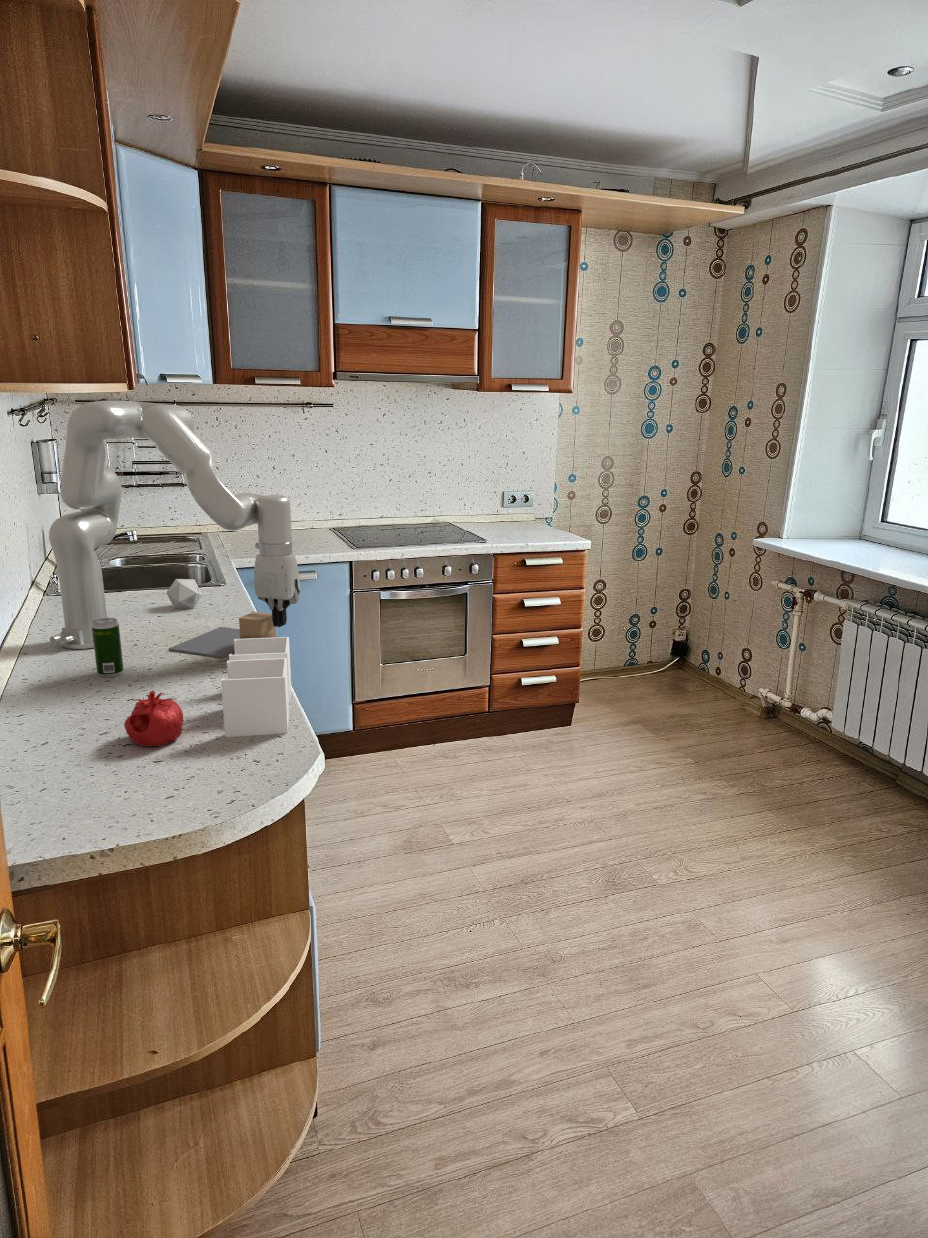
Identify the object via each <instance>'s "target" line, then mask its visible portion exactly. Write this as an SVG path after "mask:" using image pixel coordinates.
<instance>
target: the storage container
mask: <svg viewBox="0 0 928 1238" xmlns="http://www.w3.org/2000/svg"><path fill="white" fill-rule="evenodd" d="M290 650H291V649H290V637H289V636H282V637H277V636H276V637H275V638H250V639H234V651H235V652H234V654H233V653H231V654H228V660H227V661H226V668H227V670H226V671H227V673H226V674H227V679H226V678H224V677H222V678H221V680H220V682H221V685H220V686H221V698H222V711H223V726H224V737H225V738H231V737H232V738H234V737H249V736H261V735H262V736H265V735H266V736H267V735H268V736H269V735H281V734H288V732H289V723H290V721H289V720H290V705H291V696H292V695H291V694H292V676H291V675H292V674H291V672H292V671H291V652H290Z"/></svg>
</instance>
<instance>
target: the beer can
mask: <svg viewBox="0 0 928 1238" xmlns="http://www.w3.org/2000/svg"><path fill="white" fill-rule="evenodd" d="M92 624H93V625H92V634H93V643H94V648H93V650H94V656H95V658H94V659H95V667H96V668H95V669H96V673H97V674H98V676H99V677H101V678H114V677H117V676H120V675H122V674H123V672H124V660H123V659H124V658H123V652H122V642H121V634H120V632H121V631H120V624H119V622H118V618H114V617H107V618H101V619H96V620H94V621H93V622H92Z"/></svg>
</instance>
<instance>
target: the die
mask: <svg viewBox="0 0 928 1238" xmlns="http://www.w3.org/2000/svg"><path fill="white" fill-rule="evenodd" d="M165 593H166V595H167V597H168V599H169V601H170V603H171V605H172V606H173V608H174V609H175V610H194V609H195V607H196V605H197V604H198V603H199V601H200V600H201V598H202V597H203V594H202V592H201V589H200V588H199V586H198V584H197V582H196V580H195V579H194V578H192V579H191V578H190V579H189V578H188V579H187V578H175V579H174V581H173V583H172V584H171V585H170V587H169V588H168V590H167V591H166V592H165Z"/></svg>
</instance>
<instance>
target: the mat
mask: <svg viewBox="0 0 928 1238" xmlns="http://www.w3.org/2000/svg"><path fill="white" fill-rule="evenodd" d="M234 639H240V628H233V627H226V626H219V627H216V628H215V629H212V630H209V631H207V632H204V633H203V634H200V635H197V636H195V637H193V638H191V639H188V640H186V641H183V642H180V643H179V644H176V645H173V646H171V647H169V648H168V651H170V652H177V653H185V654H192V655H197V656H198V655H199V656H205V657H212V658H219V659H221V658H224V657H226V656H229V654H233V653H235V651H234Z"/></svg>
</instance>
